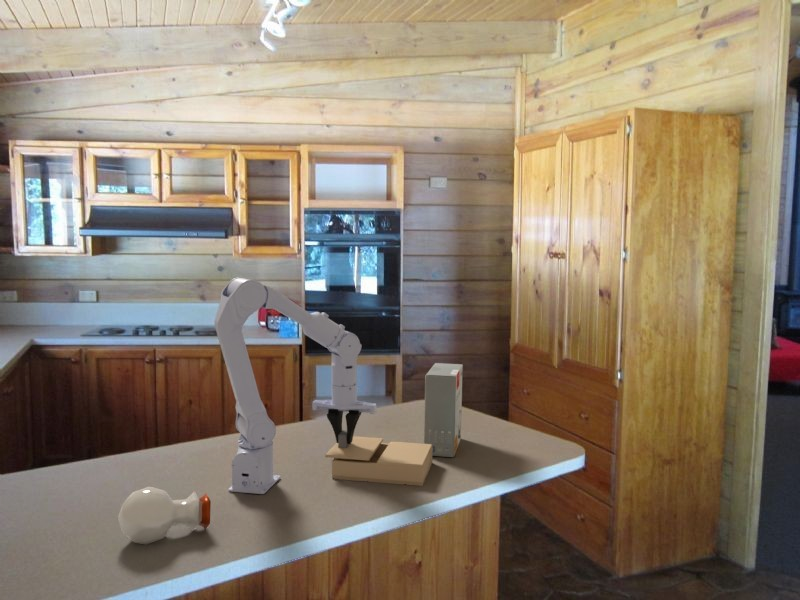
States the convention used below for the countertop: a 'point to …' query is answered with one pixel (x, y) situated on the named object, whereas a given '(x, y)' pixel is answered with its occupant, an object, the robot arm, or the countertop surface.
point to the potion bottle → (160, 514)
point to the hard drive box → (443, 408)
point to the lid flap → (354, 447)
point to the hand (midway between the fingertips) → (344, 442)
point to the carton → (388, 465)
